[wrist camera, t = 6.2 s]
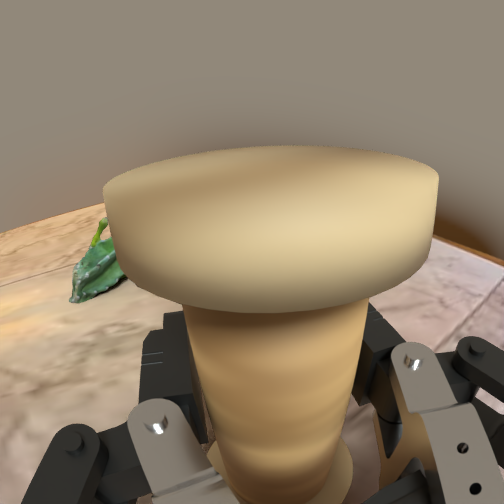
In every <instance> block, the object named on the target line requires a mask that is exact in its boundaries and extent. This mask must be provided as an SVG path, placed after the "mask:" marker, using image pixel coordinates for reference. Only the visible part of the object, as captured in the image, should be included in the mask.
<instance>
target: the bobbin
mask: <svg viewBox="0 0 504 504" xmlns="http://www.w3.org/2000/svg"><path fill="white" fill-rule="evenodd" d="M438 180H439V177H438V174H437V172H436V171H434V170H433V169H432V168H430V167H429V166H427V165H425V164H422V163H420V162H418V161H415V160H412V159H408V158H404V157H401V156H397V155H393V154H388V153H382V152H377V151H370V150H363V149H355V148H344V147H331V146H306V145H302V146H301V145H295V146H294V145H292V146H291V145H288V146H287V145H286V146H261V147H246V148H234V149H225V150H217V151H209V152H203V153H197V154H191V155H185V156H180V157H176V158H172V159H167V160H163V161H159V162H155V163H152V164H148V165H145V166H142V167H139V168H136V169H133V170H130V171H128V172H125V173H123V174H121V175H119V176H117V177H115V178H113V179H112V180H111V181H109V182H108V183H107V184H106V185H105V186H104V187H103V197H104V202H105V208H106V213H107V218H108V222H109V227H110V232H111V236H112V241H113V245H114V249H115V253H116V258H117V261H118V264H119V266H120V269H121V270H122V271H123V273H124V274H125V275H126V276H127V278H128V279H130V280H131V281H132V282H134V283H135V284H136V285H138V286H139V287H141V288H143V289H145V290H147V291H149V292H151V293H153V294H155V295H157V296H159V297H162V298H165V299H168V300H171V301H174V302H177V303H181V304H182V307H183V311H184V316H185V321H186V325H187V330H188V334H189V338H190V343H191V347H192V351H193V356H194V360H195V364H196V368H197V372H198V376H199V380H200V384H201V387H202V391H203V395H204V399H205V402H206V406H207V410H208V413H209V417H210V420H211V424H212V427H213V431H214V434H215V437H216V441H215V442H214V443H213V444H212V446H211V448H210V449H209V451H208V453H207V455H206V456H207V458H208V459H209V461H210V463H211V464H212V466H213V467H214V469H215V470H216V472H218V473H219V474H220V475H221V476H222V478H223V479H224V481H225V482H226V484H227V485H228V487H229V488H230V490H231V491H232V493H233V494H234V496H235V497H236V499H237V500H238V502H239V503H240V504H342V502H343V500H344V498H345V497H346V495H347V493H348V490H349V488H350V486H351V482H352V478H353V462H352V458H351V454H350V452H349V449H348V447H347V446H346V444H345V442H344V441H343V440H342V438H341V437H340V434H341V431H342V427H343V423H344V420H345V416H346V412H347V408H348V404H349V400H350V396H351V392H352V387H353V383H354V379H355V374H356V369H357V365H358V360H359V355H360V350H361V344H362V339H363V333H364V328H365V322H366V316H367V309H368V303H369V297H372V296H375V295H377V294H379V293H382V292H384V291H386V290H389V289H391V288H393V287H395V286H397V285H398V284H400V283H402V282H403V281H405V280H407V279H408V278H410V277H411V276H412V275H413V274H414V273H415V272H417V271H418V270H419V269H420V268H421V267H422V265H423V264H424V262H425V261H426V259H427V258H428V254H429V251H430V247H431V240H432V234H433V227H434V219H435V211H436V202H437V192H438Z"/></svg>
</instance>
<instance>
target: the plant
mask: <svg viewBox="0 0 504 504" xmlns="http://www.w3.org/2000/svg"><path fill="white" fill-rule="evenodd" d="M107 225H108V218H107V217H105V218H103V219H102V220H101V221H100V222H99V227H98V230H97V233H96V234H95V236H94V237H93V240H92V242H91V245H90V247H89V250H88V252H87V253H86V255H85V257H83V258H82V260H81V261H80V262H79V263H77V264H76V265H75V266H74V269H73V278H72V284H73V290H72V297H71V298H70V299H69V302H71V303H72V302H75V303H81V302H84V301H87V300H89V299H92V298H94V296H95V295H97V294H98V293H99V292H103V291H106V290H107V289H108V288H109V287H110V286H113V285H114V284H116V283H117V282H118V280H119V279H122V278H124V277H126V275H125V274H124V273H123V271H122V270H121V269H120V266H119V264H118V261H117V258H116V253H115V249H114V245H113V241H112V237H110V238H109V239H106V240H101V239H100V234H101V233H102V231H103V229H105V228H106V227H107Z"/></svg>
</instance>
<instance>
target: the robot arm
mask: <svg viewBox="0 0 504 504" xmlns="http://www.w3.org/2000/svg"><path fill="white" fill-rule="evenodd" d="M141 364H142V366H141V373H140V388H139V403H138V405H137V406H136V407H135V408H134V409H133V410H132V411H131V413H130V414H129V417H128V421H126V422H125V423H123V424H122V425H120V426H117V427H114V428H111V429H108V430H105V431H102V432H99V433H96V432H95V430H93V429H92V428H91V427H89V426H87V425H84V424H71V425H68V426H66V427H64V428H62V429H61V430H59V431H58V432H57V433H56V434H55V436H54V437H53V439H52V441H51V443H50V445H49V447H48V449H47V451H46V453H45V455H44V457H43V459H42V461H41V463H40V464H39V467H38V469H37V471H36V473H35V475H34V477H33V479H32V481H31V483H30V485H29V487H28V489H27V491H26V494H25V496H24V498H23V500H22V502H21V504H136V501H137V498H138V497H141V496H144V495H147V494H150V493H153V496H152V502H153V504H240V503H239V502H238V500H237V499H236V497H235V496H234V494H233V493H232V491H231V490H230V488H229V487H228V485H227V484H226V482H225V481H224V479H223V478H222V476H221V475H220V474H219V473H218V472H216V470H215V469H214V467H213V466H212V464H211V463H210V461H209V459H208V458H207V456H206V454H205V452H204V451H203V449H202V447H201V444H204V443H209V442H208V436H207V429H206V423H205V416H204V410H203V403H202V396H201V388H200V381H199V376H198V372H197V368H196V364H195V360H194V356H193V351H192V347H191V343H190V338H189V334H188V330H187V325H186V321H185V316H184V311H178V312H171V313H164V318H163V329H161V330H153V331H150V332H149V334H148V335H147V337H146V338H145V340H144V341H143V349H142V361H141ZM480 387H481V388H482V389H484V390H485V391H487V392H488V393H490V394H491V395H493V396H494V397H495V398H497V399H498V400H500V401H501V402H503V403H504V351H503V350H501V349H499V348H498V347H496V346H494V345H493V344H491V343H489V342H488V341H486V340H484V339H482V338H479V337H475V336H468V337H464V338H462V339H461V340H460V341H459V342H458V345H457V347H456V350H455V351H453V352H445V353H435V354H434V352H433V351H432V350H431V349H430V348H428V347H427V346H425V345H423V344H420V343H416V342H406V341H405V340H404V339H403V338H402V337H401V336H400V335H399V333H398V332H397V331H396V330H395V329H394V328H393V327H392V326H391V325H390V324H389V323H388V322H387V321H386V320H385V318H384V319H383V316H382V315H381V314H380V313H379V312H378V311H376V309H375V308H374V307H373V306H372V305H371V304H370V303H368V309H367V316H366V322H365V328H364V333H363V339H362V344H361V350H360V355H359V360H358V365H357V369H356V374H355V379H354V383H353V387H352V392H351V393H352V395H353V397H354V398H355V400H356V402H357V403H358V405H359V406H362V405H365V404H368V403H372V404H373V406H374V407H375V408H374V411H373V415H372V416H373V422H374V427H375V433H376V438H377V443H378V449H379V454H380V460H381V472H380V477H379V491H378V492H377V493H376V494H374V495H373V496H372V497H370V498H369V499H368V500H366V501H365V502H363V503H362V504H504V481H503V478H502V475H501V472H500V469H499V466H501V467H502V468H503V469H504V415H502V414H499V413H498V412H496V411H495V410H493V409H492V408H490V407H489V406H487V405H486V404H485V403H483V402H482V401H480V400H479V399H477V398H476V397H475V395H476V394H477V392H478V390H479V388H480ZM498 465H499V466H498Z"/></svg>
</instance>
